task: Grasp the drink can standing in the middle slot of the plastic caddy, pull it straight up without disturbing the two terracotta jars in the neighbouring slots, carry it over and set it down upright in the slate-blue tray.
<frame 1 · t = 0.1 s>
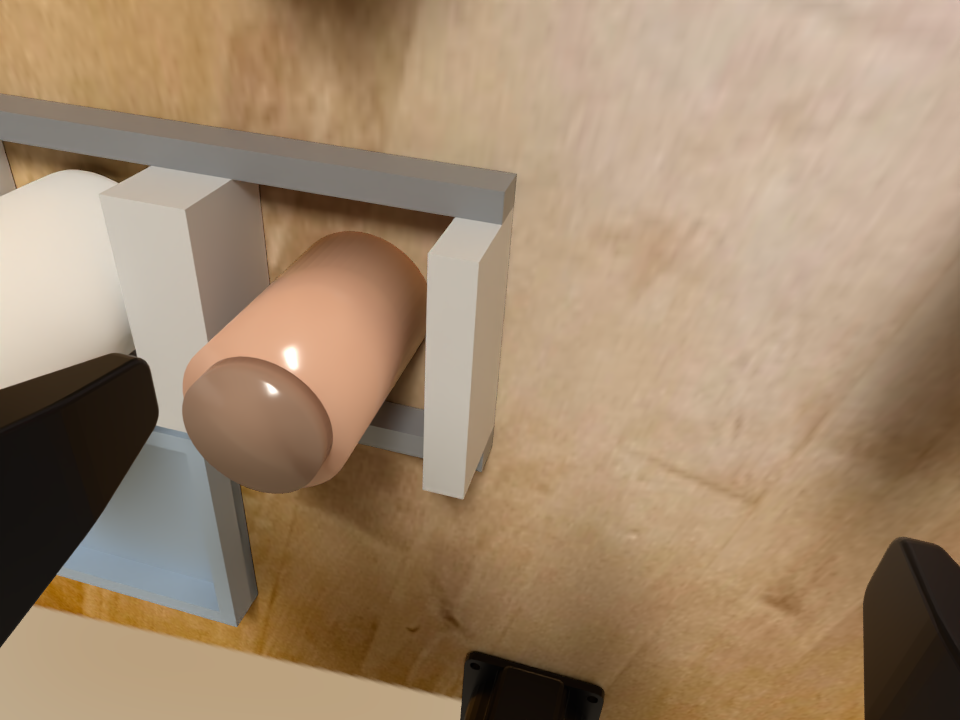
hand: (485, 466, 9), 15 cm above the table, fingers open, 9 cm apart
can: (116, 247, 28), resting in caddy
tray: (132, 483, 36), on the table
jar 2: (364, 298, 26), resting in caddy
caddy: (112, 249, 28), on the table
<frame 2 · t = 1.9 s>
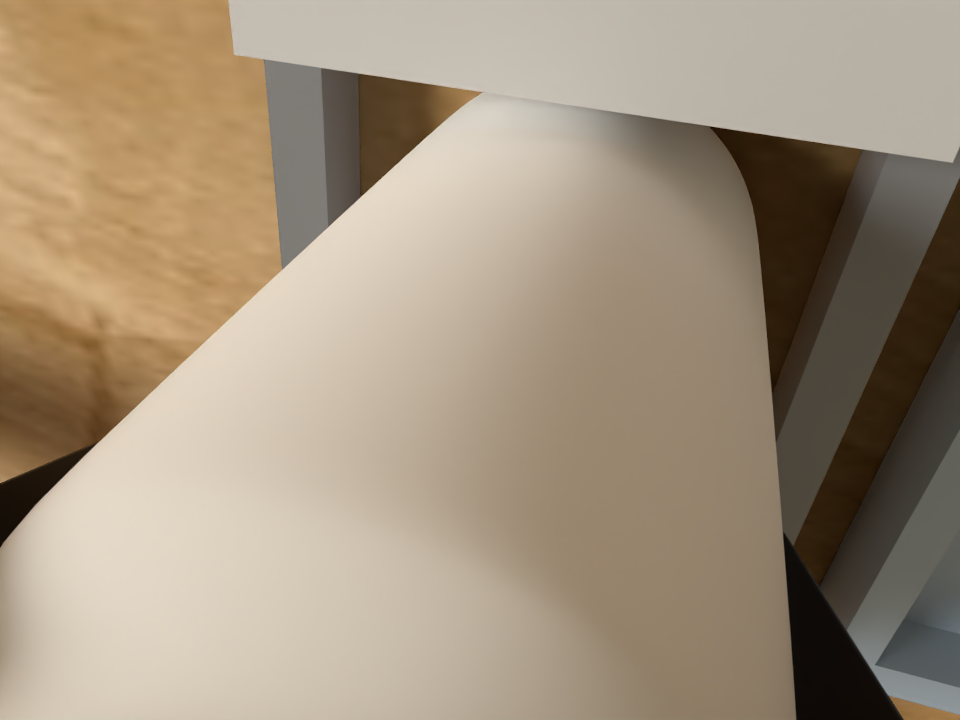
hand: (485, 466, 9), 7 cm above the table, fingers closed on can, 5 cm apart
can: (576, 237, 14), resting in caddy, touching gripper
caddy: (574, 242, 14), on the table
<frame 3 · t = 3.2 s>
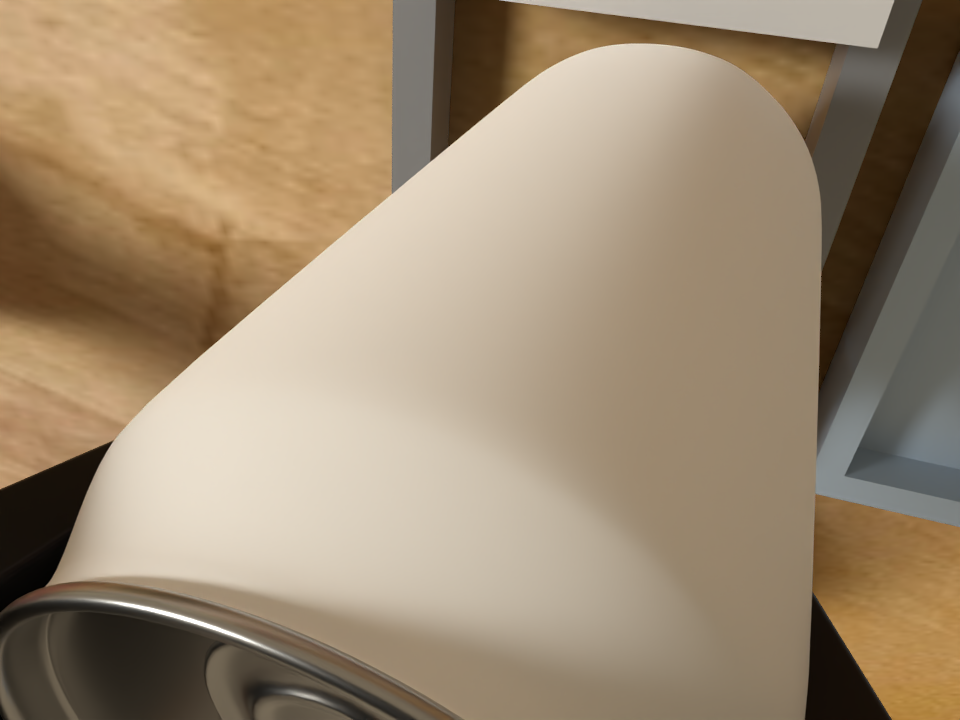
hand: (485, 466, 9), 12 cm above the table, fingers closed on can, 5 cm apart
can: (640, 210, 15), point 5 cm above the table, touching gripper
caddy: (615, 145, 19), on the table
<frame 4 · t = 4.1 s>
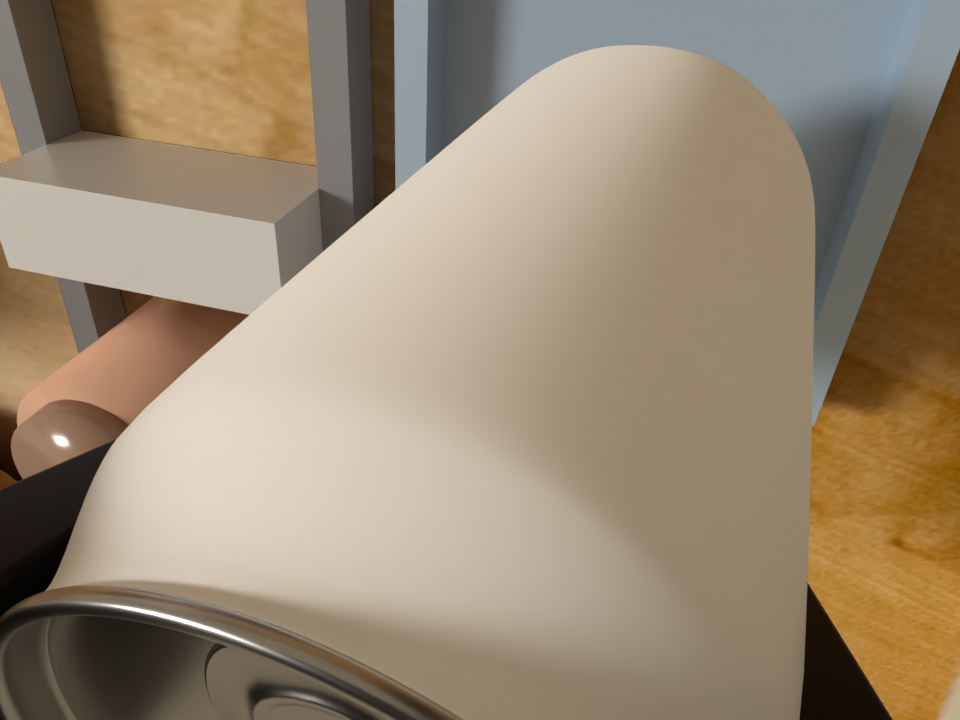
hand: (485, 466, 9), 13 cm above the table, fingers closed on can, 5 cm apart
jar 1: (234, 331, 26), resting in caddy
can: (635, 210, 15), point 5 cm above the table, touching gripper
tray: (636, 155, 19), on the table
caddy: (187, 19, 21), on the table
when the fingers open (8 cm above the table, at t = 5.4 s): can stays where it is, resting on tray.
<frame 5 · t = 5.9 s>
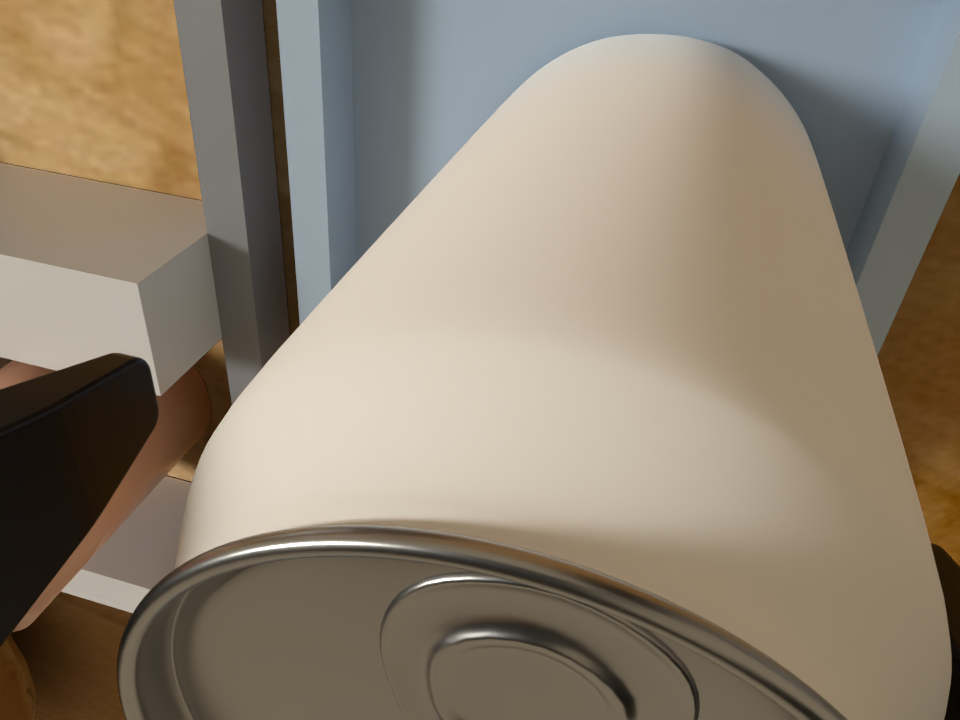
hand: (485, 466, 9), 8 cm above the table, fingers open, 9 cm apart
jar 1: (134, 383, 23), resting in caddy
can: (639, 199, 15), resting on tray
tray: (589, 204, 16), on the table
caddy: (49, 24, 17), on the table
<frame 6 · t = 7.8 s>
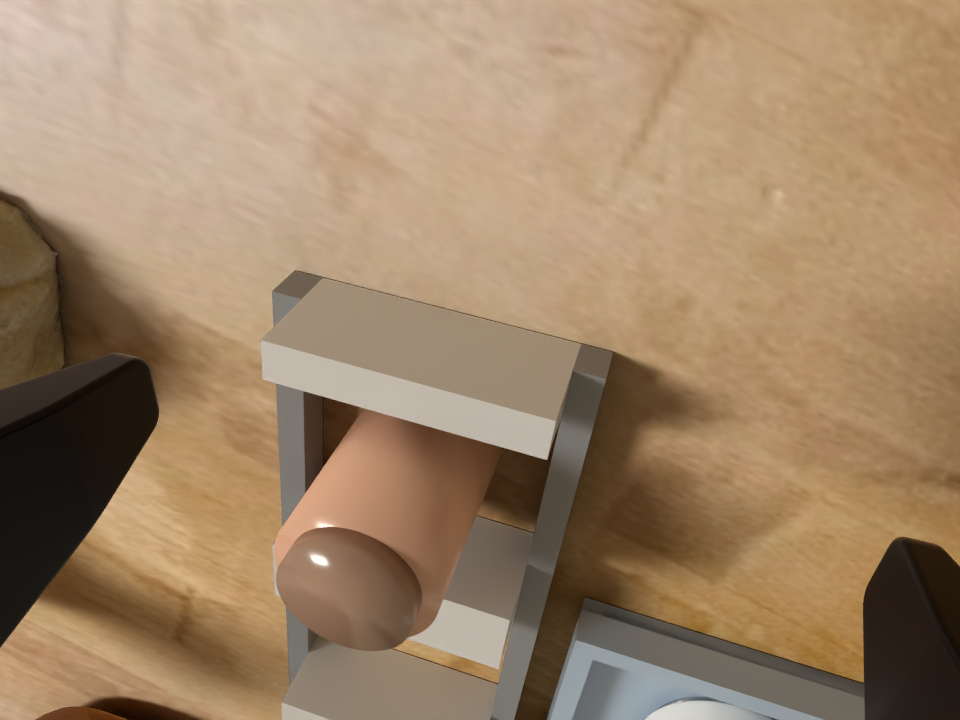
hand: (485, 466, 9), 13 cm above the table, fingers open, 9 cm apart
jar 2: (435, 428, 27), resting in caddy
caddy: (415, 605, 33), on the table
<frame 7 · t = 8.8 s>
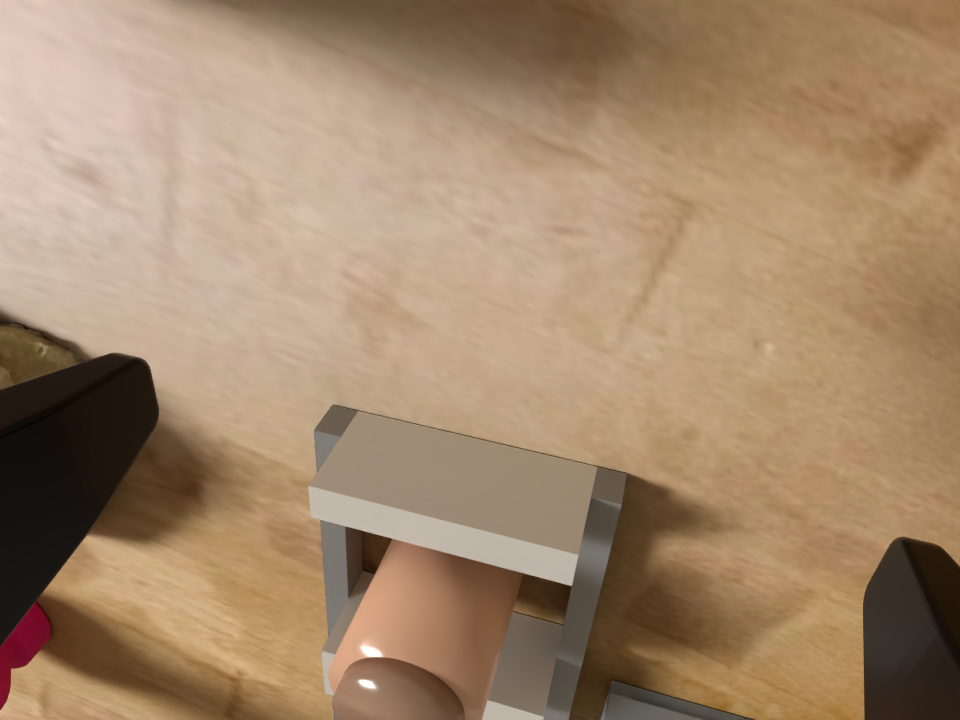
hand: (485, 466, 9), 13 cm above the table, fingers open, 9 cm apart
pepper mill: (5, 603, 42), on the table
jar 2: (466, 536, 29), resting in caddy
caddy: (452, 686, 35), on the table
pastry: (4, 411, 33), on the table
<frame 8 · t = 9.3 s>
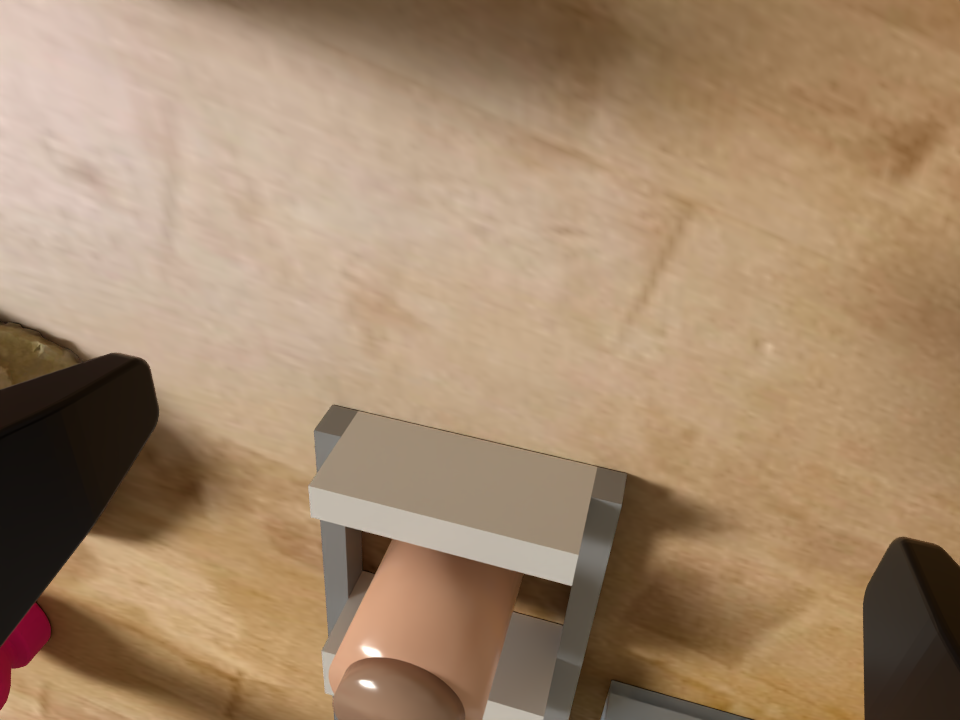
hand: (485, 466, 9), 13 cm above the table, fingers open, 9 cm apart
pepper mill: (5, 603, 42), on the table
jar 2: (466, 536, 29), resting in caddy
caddy: (452, 687, 35), on the table
pastry: (2, 410, 33), on the table
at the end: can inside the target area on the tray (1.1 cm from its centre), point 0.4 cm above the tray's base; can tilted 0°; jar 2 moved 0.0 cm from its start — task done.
